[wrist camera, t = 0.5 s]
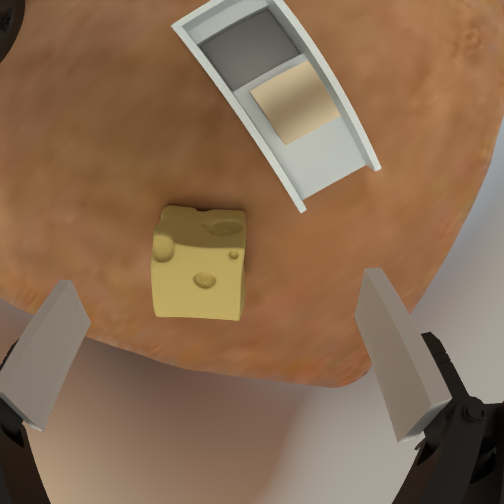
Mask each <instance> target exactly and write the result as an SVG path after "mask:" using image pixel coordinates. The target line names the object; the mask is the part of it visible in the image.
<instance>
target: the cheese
mask: <svg viewBox="0 0 504 504" xmlns="http://www.w3.org/2000/svg"><path fill="white" fill-rule="evenodd" d="M245 248H246V215H245V211H241V210H222V209H213V210H209V211H204V212H202V211H197V210H196V209H195V208H191V207H182V206H174V205H168V206H166V207H165V208H164V209H163V211H162V213H161V221H160V223H157V225H156V227H155V229H154V232H153V249H152V256H151V281H152V296H153V306H154V311H155V314H156V316H157V317H194V318H212V319H226V320H236V321H238V320H239V319H240V316H241V313H242V310H243V307H244V302H245V270H244V255H245Z"/></svg>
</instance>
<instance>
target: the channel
mask: <svg viewBox="0 0 504 504" xmlns="http://www.w3.org/2000/svg"><path fill="white" fill-rule="evenodd" d="M266 9H267V10H266ZM264 10H265V11H264ZM269 11H270V12H271V13H270V12H269ZM257 13H258V14H257ZM255 14H256V15H255ZM253 15H254V16H253ZM272 15H273V16H274V17H275V18H274V17H273V16H272ZM246 19H247V20H246ZM244 20H245V21H244ZM276 20H277V21H278V22H277V21H276ZM242 21H243V22H242ZM240 22H241V23H240ZM238 23H239V24H238ZM236 24H237V25H236ZM279 24H280V25H281V26H280V25H279ZM233 26H234V27H233ZM171 27H172V28H173V29H174V30H175V32H176V33H177V34H178V35H179V37H180V38H181V39H182V41H183V42H184V43H185V44H186V46H187V47H188V48H189V49H190V51H191V52H192V53H193V55H194V56H195V57H196V59H197V60H198V61H199V63H200V64H201V65H202V67H203V68H204V69H205V71H206V72H207V73H208V75H209V76H210V77H211V79H212V80H213V81H214V83H215V84H216V86H217V87H218V88H219V90H220V91H221V92H222V94H223V95H224V97H225V98H226V100H227V101H228V102H229V104H230V105H231V107H232V108H233V109H234V111H235V112H236V114H237V115H238V117H239V118H240V120H241V121H242V122H243V124H244V125H245V127H246V128H247V130H248V131H249V133H250V134H251V136H252V137H253V139H254V140H255V142H256V143H257V145H258V146H259V148H260V149H261V151H262V152H263V154H264V155H265V157H266V159H267V160H268V162H269V163H270V165H271V166H272V168H273V169H274V171H275V173H276V174H277V176H278V177H279V179H280V180H281V182H282V184H283V185H284V187H285V188H286V190H287V192H288V193H289V195H290V197H291V198H292V200H293V201H294V203H295V205H296V206H297V208H298V210H299V211H300V213H302V212H304V211H306V210H307V209H306V207H305V205H304V203H303V201H302V200H304V199H305V198H307V197H309V196H311V195H312V194H314V193H316V192H318V191H320V190H321V189H323V188H325V187H327V186H329V185H330V184H332V183H334V182H336V181H338V180H339V179H341V178H343V177H345V176H347V175H348V174H350V173H352V172H354V171H356V170H357V169H359V168H361V167H363V166H365V165H367V166H368V167H370V168H371V169H373V170H374V171H378V170H379V169H381V166H380V164H379V162H378V159H377V157H376V155H375V152H374V150H373V148H372V146H371V144H370V142H369V139H368V137H367V135H366V133H365V131H364V129H363V127H362V125H361V123H360V121H359V119H358V117H357V115H356V113H355V111H354V109H353V107H352V106H351V104H350V102H349V100H348V98H347V96H346V94H345V93H344V91H343V89H342V87H341V86H340V84H339V82H338V80H337V79H336V77H335V75H334V74H333V72H332V70H331V69H330V67H329V65H328V64H327V62H326V61H325V59H324V57H323V56H322V54H321V53H320V51H319V50H318V48H317V47H316V45H315V44H314V42H313V41H312V39H311V38H310V36H309V35H308V33H307V32H306V31H305V29H304V28H303V26H302V25H301V24H300V22H299V21H298V19H297V18H296V17H295V15H294V14H293V13H292V11H291V10H290V9H289V8H288V6H287V5H286V4H285V2H284V1H283V0H211V1H209V2H208V3H206V4H204V5H202V6H201V7H199V8H197V9H196V10H194V11H193V12H191V13H189V14H188V15H186V16H185V17H183V18H181V19H180V20H178V21H177V22H175V23H174V24H172V25H171ZM231 27H232V28H231ZM229 28H230V29H229ZM282 28H283V29H284V30H283V29H282ZM227 29H228V30H227ZM224 31H225V32H224ZM284 31H285V32H286V33H285V32H284ZM222 32H223V33H222ZM220 33H221V34H220ZM219 34H220V35H219ZM217 35H218V36H217ZM287 35H288V36H289V37H288V36H287ZM215 36H216V37H215ZM214 37H215V38H214ZM212 38H213V39H212ZM290 39H291V40H290ZM209 40H210V41H209ZM207 41H208V42H207ZM292 42H293V43H294V44H293V43H292ZM204 43H205V44H204ZM201 45H202V46H201ZM294 45H295V46H296V47H295V46H294ZM199 46H200V47H201V48H202V49H203V51H204V52H205V53H206V55H207V56H208V57H209V59H210V60H211V61H212V63H213V64H214V65H215V67H216V68H217V69H218V71H219V72H220V73H221V75H222V76H223V77H224V79H225V80H226V82H227V83H228V84H229V86H230V87H231V89H232V90H233V91H234V92H233V91H232V90H231V89H230V87H229V86H228V84H227V83H226V82H225V80H224V79H223V78H222V76H221V75H220V73H219V72H218V71H217V69H216V68H215V67H214V65H213V64H212V63H211V61H210V60H209V59H208V57H207V56H206V55H205V53H204V52H203V51H202V49H201V48H200V47H199ZM296 48H297V49H298V50H297V49H296ZM299 52H300V53H299ZM300 54H301V55H300ZM298 55H299V56H298ZM296 56H297V57H296ZM294 57H295V58H294ZM292 58H293V59H292ZM290 59H291V60H290ZM288 60H289V61H288ZM307 60H308V61H309V62H310V64H311V65H312V67H313V69H314V70H315V72H316V73H317V75H318V77H319V78H320V80H321V81H322V83H323V85H324V86H325V88H326V90H327V92H328V93H329V95H330V97H331V98H332V100H333V102H334V104H335V105H336V107H337V109H338V111H339V113H340V115H341V116H339V117H337V118H335V119H334V120H332V121H330V122H328V123H326V124H324V125H322V126H320V127H319V128H317V129H315V130H313V131H311V132H309V133H308V134H306V135H304V136H302V137H300V138H299V139H297V140H295V141H293V142H291V143H290V144H288V145H286V146H285V144H284V143H283V142H282V140H281V139H280V138H279V136H278V135H277V133H276V132H275V130H274V128H273V127H272V125H271V124H270V122H269V121H268V119H267V118H266V116H265V115H264V113H263V112H262V110H261V109H260V107H259V106H258V104H257V103H256V101H255V100H254V98H253V97H252V95H251V94H250V91H251V90H253V89H254V88H256V87H258V86H260V85H261V84H263V83H265V82H267V81H268V80H270V79H272V78H274V77H276V76H278V75H279V74H281V73H283V72H285V71H287V70H289V69H291V68H293V67H295V66H297V65H299V64H301V63H303V62H305V61H307ZM286 61H287V62H286ZM284 62H285V63H284ZM282 63H283V64H282ZM280 64H281V65H280ZM278 65H279V66H278ZM273 68H274V69H273ZM271 69H272V70H271ZM269 70H270V71H269ZM267 71H268V72H267ZM262 74H263V75H262ZM260 75H261V76H260ZM258 76H259V77H258ZM255 78H256V79H255ZM253 79H254V80H253ZM251 80H252V81H251ZM248 82H249V83H248ZM246 83H247V84H246ZM243 85H244V86H243ZM241 86H242V87H241ZM238 88H239V89H238ZM236 89H237V90H236Z"/></svg>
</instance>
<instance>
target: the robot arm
mask: <svg viewBox="0 0 504 504" xmlns="http://www.w3.org/2000/svg"><path fill="white" fill-rule="evenodd" d="M23 14H24V0H0V62H1V61H2V59H3V58H4V57H5V55H6V54H7V52H8V51H9V49H10V48H11V46H12V44H13V42H14V40H15V38H16V36H17V33H18V31H19V28H20V25H21V22H22V19H23ZM354 318H355V320H356V323H357V325H358V328H359V330H360V333H361V336H362V338H363V341H364V343H365V346H366V349H367V351H368V354H369V357H370V360H371V362H372V365H373V368H374V371H375V373H376V376H377V379H378V382H379V385H380V388H381V391H382V394H383V397H384V400H385V403H386V406H387V409H388V412H389V415H390V419H391V422H392V425H393V428H394V432H395V435H396V438H397V442H398V443H400V442H404V441H407V440H410V439H413V438H416V437H417V436H418V435H419V434H420V433H421V432H422V431H424V434H425V436H426V437H425V438H424V439H423V440H422V441H421V442H420V443H419V444H418V445H417V446H416V448H415V450H418V449H419V448H420V449H419V452H418V454H417V456H416V458H415V460H414V463H413V465H412V467H411V469H410V471H409V473H408V475H407V477H406V479H405V481H404V483H403V485H402V487H401V488H400V490H399V492H398V494H397V496H396V497H395V499H394V501H393V503H392V504H504V401H503V402H502V403H495V404H483V402H482V401H481V400H480V399H478V398H476V397H472V396H469V394H468V393H467V391H466V389H465V387H464V385H463V383H462V381H461V379H460V377H459V375H458V373H457V371H456V369H455V367H454V365H453V363H452V362H451V361H450V358H449V356H448V354H446V350H445V349H444V347H443V345H442V343H441V342H440V340H439V339H438V338H436V337H435V336H434V335H433V334H432V333H431V332H428V333H423V334H420V332H419V330H418V329H417V327H416V325H415V323H414V322H413V320H412V318H411V316H410V315H409V313H408V311H407V309H406V308H405V306H404V304H403V303H402V301H401V299H400V297H399V296H398V294H397V293H396V291H395V289H394V288H393V286H392V284H391V283H390V281H389V280H388V278H387V276H386V275H385V273H384V272H383V270H382V269H381V267H380V268H366V269H365V270H364V275H363V280H362V285H361V289H360V294H359V299H358V303H357V307H356V312H355V316H354ZM90 324H91V322H90V320H89V318H88V316H87V314H86V312H85V310H84V307H83V305H82V303H81V301H80V299H79V297H78V294H77V292H76V290H75V287H74V285H73V283H72V280H60V281H59V282H58V283H57V285H56V286H55V287H54V289H53V290H52V291H51V293H50V294H49V295H48V297H47V298H46V300H45V301H44V303H43V304H42V305H41V307H40V308H39V310H38V311H37V313H36V314H35V316H34V317H33V319H32V320H31V322H30V323H29V325H28V326H27V328H26V329H25V331H24V332H23V334H22V336H21V337H20V338H19V339H18V340H17V341H16V342H15V343H14V344H13V345H12V346H11V348H10V350H9V351H8V353H7V356H6V357H5V358H4V360H3V363H2V364H1V365H0V504H51V503H50V501H49V498H48V496H47V494H46V491H45V489H44V486H43V483H42V481H41V478H40V475H39V473H38V470H37V467H36V464H35V461H34V457H33V454H32V451H31V448H30V444H29V440H28V436H27V432H26V429H25V427H24V426H23V425H22V422H23V420H24V421H25V422H26V423H28V424H29V425H30V426H31V427H32V428H35V429H38V430H40V431H44V430H45V427H46V424H47V421H48V419H49V416H50V413H51V411H52V408H53V405H54V403H55V401H56V398H57V396H58V393H59V391H60V389H61V386H62V384H63V382H64V379H65V377H66V375H67V372H68V370H69V368H70V365H71V364H72V361H73V359H74V357H75V355H76V353H77V351H78V349H79V347H80V344H81V342H82V340H83V338H84V336H85V334H86V332H87V330H88V328H89V326H90Z"/></svg>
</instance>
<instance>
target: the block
mask: <svg viewBox="0 0 504 504" xmlns="http://www.w3.org/2000/svg"><path fill="white" fill-rule="evenodd" d="M250 94H251V95H252V97H253V98H254V100H255V101H256V103H257V104H258V106H259V107H260V109H261V110H262V112H263V113H264V115H265V116H266V118H267V119H268V121H269V122H270V124H271V125H272V127H273V128H274V130H275V132H276V133H277V135H278V136H279V138H280V139H281V140H282V142H283V143H284V144H285V146H286V145H288V144H290V143H291V142H293V141H295V140H297V139H299V138H300V137H302V136H304V135H306V134H308V133H309V132H311V131H313V130H315V129H317V128H319V127H320V126H322V125H324V124H326V123H328V122H330V121H332V120H334V119H335V118H337V117H339V116H341V115H340V113H339V111H338V109H337V107H336V105H335V104H334V102H333V100H332V98H331V97H330V95H329V93H328V92H327V90H326V88H325V86H324V85H323V83H322V81H321V80H320V78H319V77H318V75H317V73H316V72H315V70H314V69H313V67H312V65H311V64H310V62H309V61H308V60H307V61H305V62H303V63H301V64H299V65H297V66H295V67H293V68H291V69H289V70H287V71H285V72H283V73H281V74H279V75H278V76H276V77H274V78H272V79H270V80H268V81H267V82H265V83H263V84H261V85H260V86H258V87H256V88H254V89H253V90H251V91H250Z"/></svg>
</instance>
